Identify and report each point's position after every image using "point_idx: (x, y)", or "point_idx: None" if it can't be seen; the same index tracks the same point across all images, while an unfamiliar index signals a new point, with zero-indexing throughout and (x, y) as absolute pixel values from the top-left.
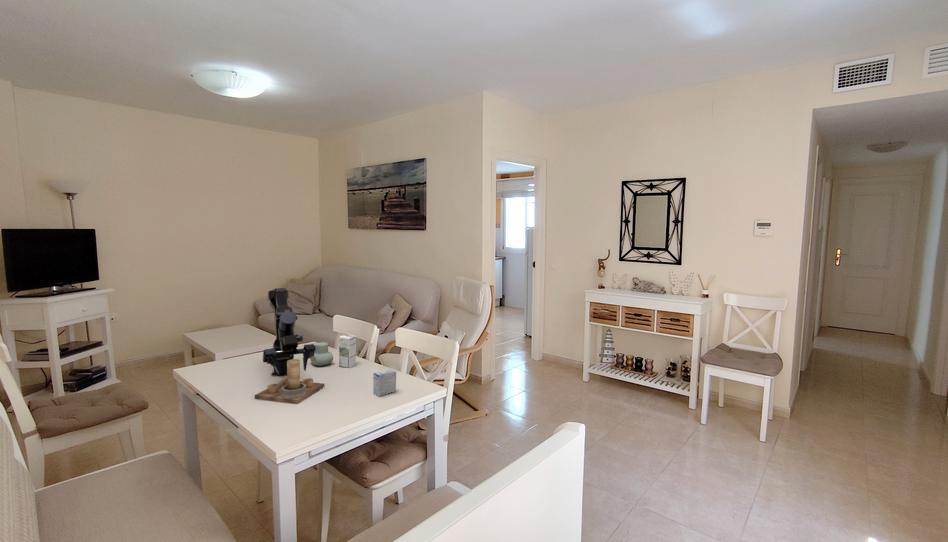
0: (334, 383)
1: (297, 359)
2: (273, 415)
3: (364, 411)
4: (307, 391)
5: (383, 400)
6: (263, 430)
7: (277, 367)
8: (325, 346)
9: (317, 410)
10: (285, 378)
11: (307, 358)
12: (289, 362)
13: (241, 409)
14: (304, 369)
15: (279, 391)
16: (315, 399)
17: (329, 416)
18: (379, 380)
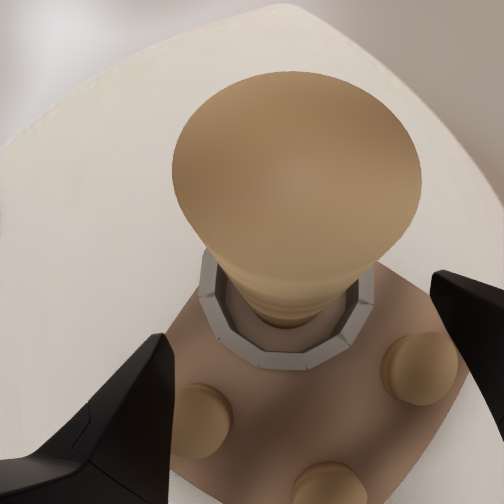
0: None
1: (212, 231)
2: None
3: (69, 112)
4: (203, 318)
5: (5, 180)
6: (349, 53)
7: (492, 292)
8: None
9: None
10: (348, 501)
11: (64, 432)
12: (355, 88)
13: (484, 219)
14: (167, 348)
15: (376, 368)
16: (173, 243)
17: (159, 86)
18: None
